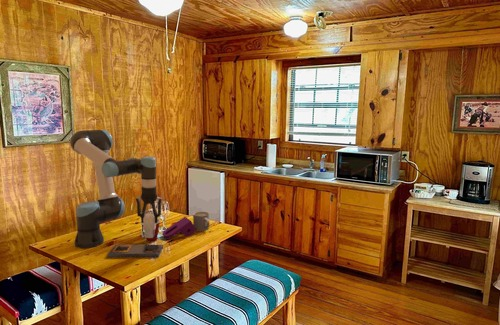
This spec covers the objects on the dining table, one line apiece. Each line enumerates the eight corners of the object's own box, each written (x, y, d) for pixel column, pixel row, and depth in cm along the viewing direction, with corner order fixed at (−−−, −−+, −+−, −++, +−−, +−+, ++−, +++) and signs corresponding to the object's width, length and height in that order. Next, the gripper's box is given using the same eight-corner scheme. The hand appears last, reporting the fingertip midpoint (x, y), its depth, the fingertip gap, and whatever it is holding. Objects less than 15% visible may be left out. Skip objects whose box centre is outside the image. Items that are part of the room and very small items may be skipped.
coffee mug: (191, 227, 225) (190, 212, 223) (205, 225, 230) (205, 210, 229) (198, 234, 214) (198, 218, 212) (213, 231, 219) (213, 216, 217)
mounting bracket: (171, 248, 205) (196, 231, 213) (165, 238, 202) (191, 220, 210) (166, 243, 213) (190, 227, 220) (160, 233, 210) (184, 216, 217)
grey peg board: (107, 257, 178) (107, 253, 178) (115, 248, 190) (115, 244, 190) (158, 257, 180) (158, 253, 179) (163, 248, 191) (163, 244, 191)
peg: (144, 237, 182) (144, 216, 180) (146, 234, 186) (146, 213, 184) (152, 237, 182) (152, 216, 180) (154, 234, 186) (154, 213, 184)
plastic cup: (140, 238, 204) (139, 219, 202) (158, 236, 209) (157, 217, 207) (143, 245, 194) (143, 225, 193) (162, 242, 200) (162, 222, 198)
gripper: (129, 187, 175) (130, 231, 179) (164, 188, 176) (164, 231, 180) (134, 184, 183) (135, 226, 186) (167, 185, 184) (167, 226, 187)
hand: (149, 228), depth 183 cm, fingers closed on peg, 4 cm apart
